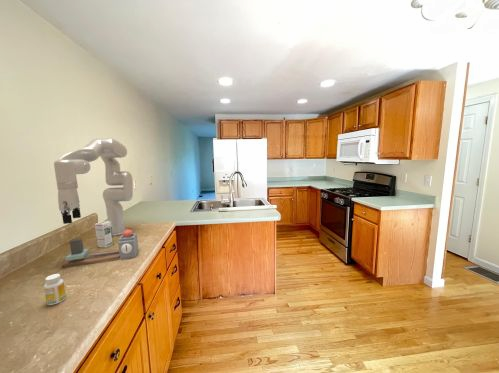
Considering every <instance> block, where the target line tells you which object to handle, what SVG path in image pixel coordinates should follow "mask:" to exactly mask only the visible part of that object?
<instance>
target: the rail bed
mask: <svg viewBox="0 0 499 373" xmlns="http://www.w3.org/2000/svg"><path fill="white" fill-rule="evenodd" d="M118 260H121V259H120V254H119V249H114V250H106V251H100V252H91V253H87V255H86V256H85V257H84V258H81V259H74V260H67V261H66V260H65V261H64V262H63V264H61V269H66V268H73V267H79V266H85V265H93V264H98V263H99V264H100V263H105V262H112V261H118Z"/></svg>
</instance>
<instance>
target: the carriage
mask: <svg viewBox="0 0 499 373" xmlns="http://www.w3.org/2000/svg"><path fill="white" fill-rule="evenodd" d="M69 247H70V253H68V255H67V256H65V257H64V258H65V262H66V261H67V260H74V259H81V258H84V257H85V256H86V255H87V254H89V252H90V248H84V244H83V238H82V237H80V238H72V239H70V240H69Z"/></svg>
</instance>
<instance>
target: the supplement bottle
mask: <svg viewBox="0 0 499 373" xmlns="http://www.w3.org/2000/svg"><path fill="white" fill-rule="evenodd" d="M43 289H44V296H45V302H46V304H47V305H48V306H55V305H58V304H59V303H62V302H63V301H64V300H65V299H66V297H67V295H66V288H65V281H64V279H62V278H61V274H60V273H54V274H50V275H48V276H47V277H45V284H44V285H43ZM54 304H55V305H54Z"/></svg>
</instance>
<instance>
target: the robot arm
mask: <svg viewBox="0 0 499 373" xmlns="http://www.w3.org/2000/svg"><path fill="white" fill-rule="evenodd" d="M127 155H128V149H127V147H126V146H125V145H124V144H123V143H121V142H120V141H118V140H117V139H114V138H109V137H108V138H95V139H92V140H91V141H89V143H87V144H86V145H85V146H84V147H82V148H79V149H77V150H73V151H70V152H68V153H66V154H63V155H62V156H61V157H60V158H58V159H57V160H55V161H54V162H53V168H54V174H55V175H54V176H55V180H56V188H57V195H58V196H57V203H58V209H59V211H60V213H61V217H62V224H64V225H66V224H72V223H73V219H79V218H82V214H81V210H80V209H81V207H80V206H81V205H80V197H79V192H78V189H79V187H78V186H79V185H78V179H77V178H78V177H77V175H85V174H87V173H89V172H90V170H91V164H90V163H92V162H95V161H97V160H98V159H99V158H100V159H101V160H102V161H103V163H104V166H105V168H104V169H105V183H106V185H108V186H113V187H108V188H105V189H104V190H103V191H102V198H103V201H104V204H105V209H106V216H107V217H106V218H107V221H111V226H112V234H113V237H115V236H122V235H123V231H125V230H129V229H128V228H126V225H125V217H124V208H123V205H122V204H121V203H120V202H129V201H131V200H132V198H133V191H134V186H133V185H134V184H133V180H134V179H133V176H132V173H131V172H129V171H121V165H120V163H119V161H118V160H117V159H119V158H120V159H121V158H122V159H123V158H125V157H126V156H127ZM116 158H117V159H116ZM116 186H118V187H116ZM120 186H122V187H120ZM71 213H72V214H71Z"/></svg>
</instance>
